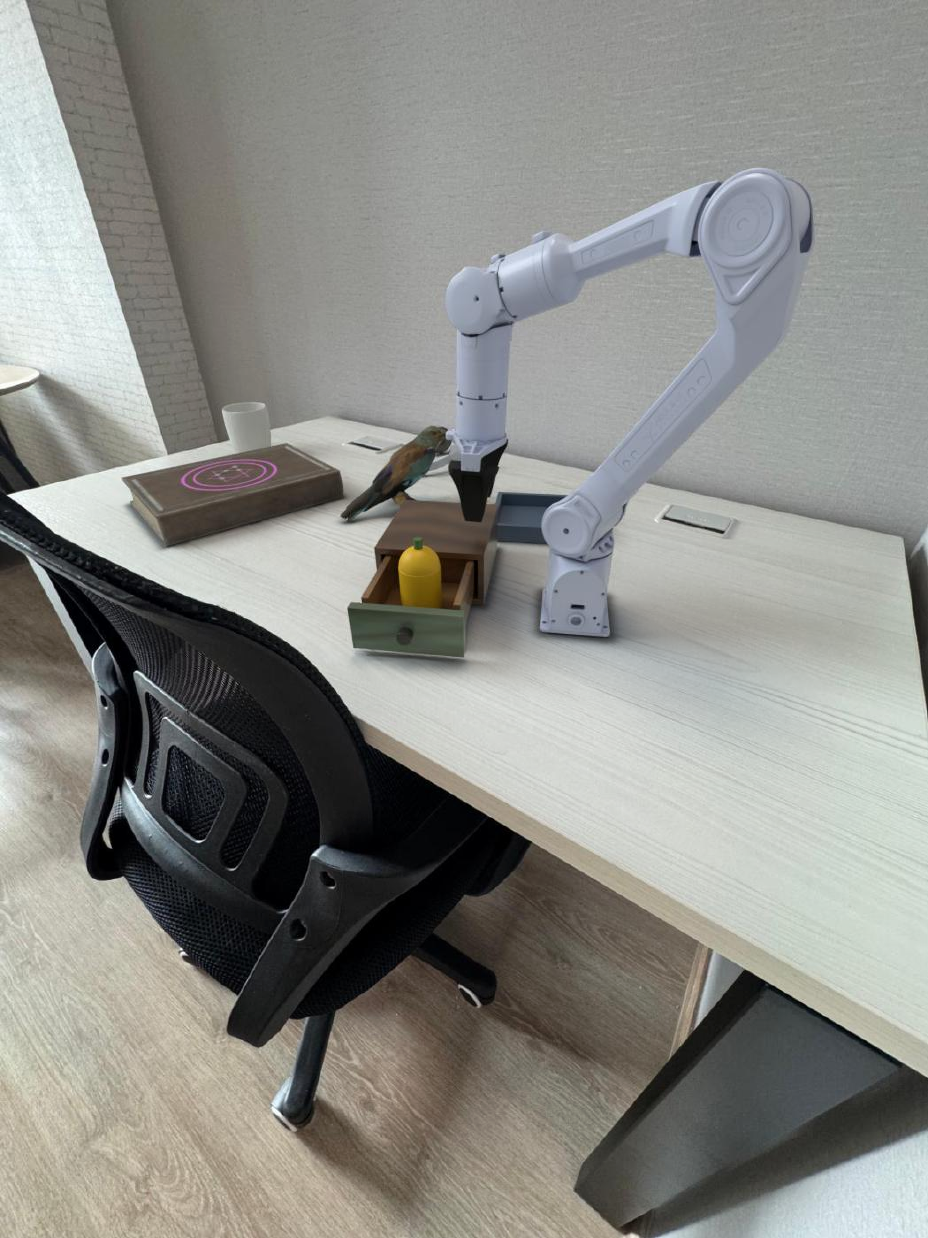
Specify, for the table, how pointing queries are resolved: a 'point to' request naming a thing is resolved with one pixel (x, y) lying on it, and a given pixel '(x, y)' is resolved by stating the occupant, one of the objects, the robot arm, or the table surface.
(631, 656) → the table surface
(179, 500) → the book
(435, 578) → the pepper
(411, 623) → the drawer
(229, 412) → the mug
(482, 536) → the cabinet
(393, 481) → the bird figurine
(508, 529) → the tray
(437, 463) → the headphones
